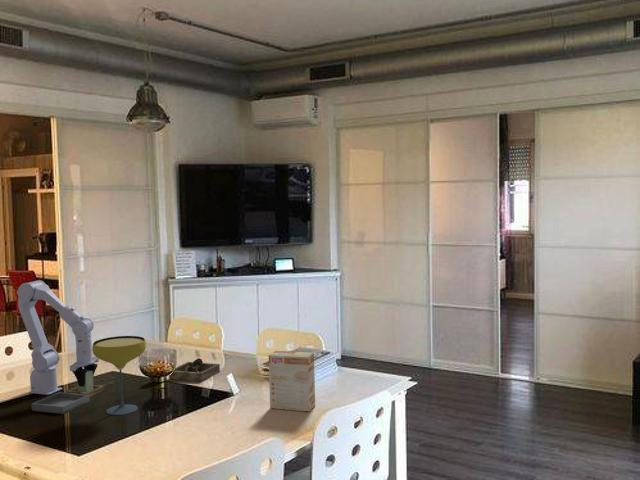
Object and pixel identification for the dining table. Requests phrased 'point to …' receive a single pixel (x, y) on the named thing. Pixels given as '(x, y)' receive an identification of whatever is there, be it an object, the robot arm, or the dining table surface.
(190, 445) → the dining table surface
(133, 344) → the cocktail glass
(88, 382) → the green elongated block
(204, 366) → the square serving dish
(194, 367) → the eagle figurine
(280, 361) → the coffeecake box
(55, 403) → the tray
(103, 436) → the dining table surface
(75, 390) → the square brown frame
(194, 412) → the dining table surface
